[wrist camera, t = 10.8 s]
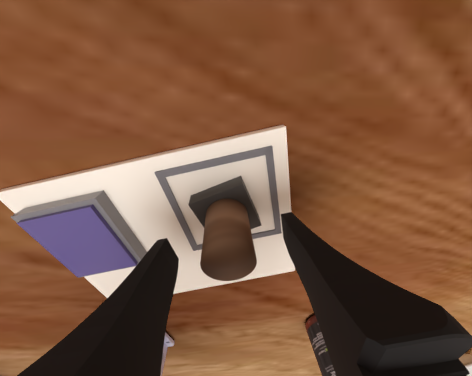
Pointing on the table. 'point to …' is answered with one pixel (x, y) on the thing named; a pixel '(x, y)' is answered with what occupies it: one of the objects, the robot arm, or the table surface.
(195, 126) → the table surface
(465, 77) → the table surface
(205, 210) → the stamp
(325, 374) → the supplement bottle
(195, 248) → the board
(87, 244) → the ink pad
